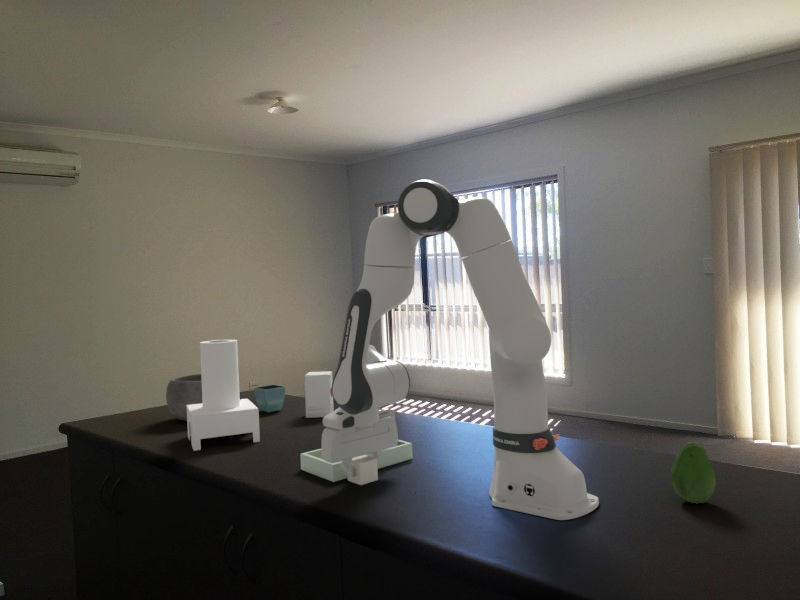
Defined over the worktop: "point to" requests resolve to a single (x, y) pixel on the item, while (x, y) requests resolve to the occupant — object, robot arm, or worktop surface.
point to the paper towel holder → (220, 397)
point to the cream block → (364, 469)
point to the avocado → (693, 474)
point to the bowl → (183, 394)
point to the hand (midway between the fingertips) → (362, 473)
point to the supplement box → (318, 394)
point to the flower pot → (270, 397)
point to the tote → (337, 470)
